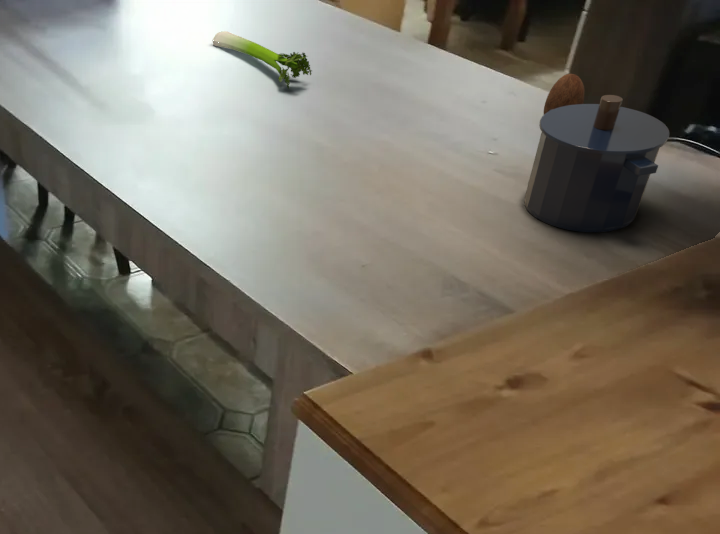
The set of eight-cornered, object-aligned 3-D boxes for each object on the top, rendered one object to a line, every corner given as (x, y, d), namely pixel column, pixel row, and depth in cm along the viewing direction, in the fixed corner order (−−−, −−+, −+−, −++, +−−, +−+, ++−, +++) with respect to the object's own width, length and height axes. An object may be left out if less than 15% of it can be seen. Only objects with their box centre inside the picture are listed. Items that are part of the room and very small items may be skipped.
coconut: (532, 125, 143) (545, 73, 137) (554, 117, 145) (568, 65, 139) (560, 136, 139) (575, 83, 134) (583, 128, 141) (598, 74, 136)
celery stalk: (237, 49, 180) (322, 85, 157) (205, 61, 179) (286, 99, 156) (233, 17, 176) (319, 48, 154) (201, 28, 175) (283, 62, 152)
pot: (582, 170, 130) (605, 96, 124) (672, 232, 116) (703, 152, 110) (494, 184, 129) (512, 110, 122) (574, 249, 115) (599, 169, 108)
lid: (617, 105, 122) (628, 70, 119) (693, 150, 112) (707, 112, 109) (515, 121, 120) (523, 85, 117) (582, 167, 110) (593, 129, 107)
